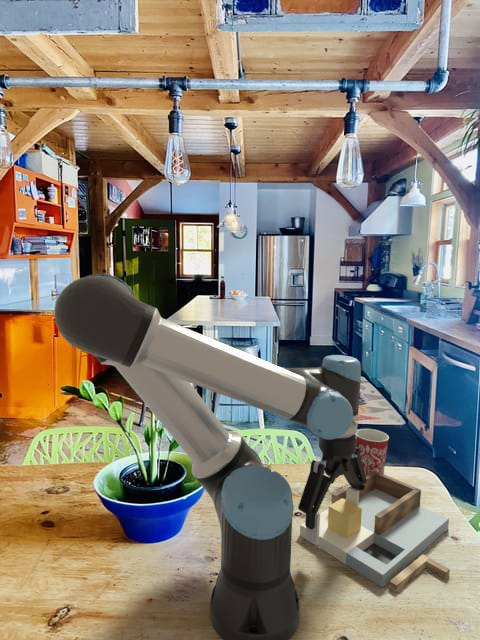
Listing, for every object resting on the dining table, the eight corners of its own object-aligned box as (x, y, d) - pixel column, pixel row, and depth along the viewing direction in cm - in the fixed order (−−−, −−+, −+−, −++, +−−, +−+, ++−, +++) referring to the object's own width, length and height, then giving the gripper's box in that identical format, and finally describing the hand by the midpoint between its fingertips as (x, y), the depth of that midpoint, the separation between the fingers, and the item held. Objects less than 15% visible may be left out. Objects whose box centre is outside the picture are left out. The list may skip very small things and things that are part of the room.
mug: (380, 473, 123) (382, 428, 121) (390, 489, 114) (393, 441, 112) (336, 472, 123) (338, 427, 121) (343, 488, 114) (345, 440, 112)
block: (347, 538, 89) (348, 516, 88) (327, 527, 92) (328, 506, 92) (360, 529, 92) (361, 507, 91) (341, 519, 96) (342, 498, 95)
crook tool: (416, 606, 75) (417, 598, 74) (389, 587, 79) (389, 580, 79) (449, 575, 82) (449, 569, 82) (422, 560, 86) (422, 554, 86)
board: (382, 587, 79) (383, 574, 78) (299, 535, 94) (300, 524, 93) (448, 528, 97) (449, 518, 97) (370, 492, 112) (370, 484, 112)
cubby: (379, 535, 90) (380, 517, 90) (331, 509, 99) (331, 493, 99) (419, 505, 102) (421, 489, 101) (373, 485, 111) (374, 470, 111)
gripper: (313, 453, 76) (308, 563, 79) (386, 423, 93) (380, 514, 95) (282, 440, 82) (278, 543, 84) (357, 413, 98) (351, 500, 101)
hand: (332, 528), depth 90 cm, fingers open, 13 cm apart
